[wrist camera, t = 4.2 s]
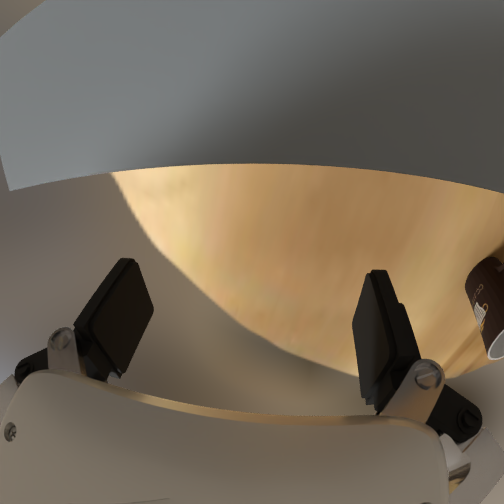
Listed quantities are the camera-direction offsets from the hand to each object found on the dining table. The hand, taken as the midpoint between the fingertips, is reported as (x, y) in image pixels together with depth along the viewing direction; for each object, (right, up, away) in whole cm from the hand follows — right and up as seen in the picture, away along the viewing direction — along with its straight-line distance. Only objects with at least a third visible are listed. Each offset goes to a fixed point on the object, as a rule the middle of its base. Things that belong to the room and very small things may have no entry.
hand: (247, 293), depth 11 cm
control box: (+1, +16, +7) cm, 17 cm away
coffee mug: (+30, 0, +14) cm, 33 cm away
